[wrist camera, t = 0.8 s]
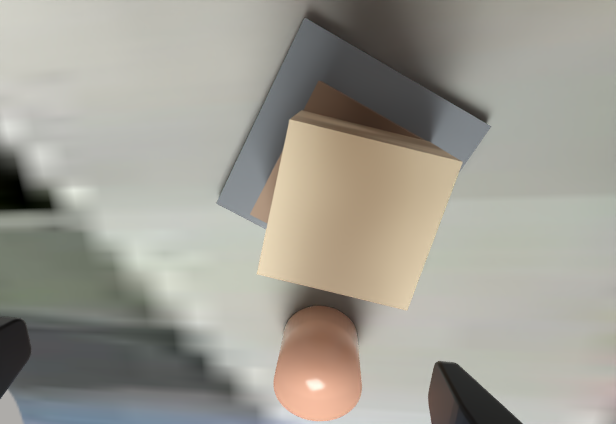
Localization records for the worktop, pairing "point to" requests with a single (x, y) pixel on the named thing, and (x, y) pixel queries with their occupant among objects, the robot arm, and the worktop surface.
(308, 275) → the top block
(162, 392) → the worktop surface
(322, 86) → the base block
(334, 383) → the peach rounded cylinder
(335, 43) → the slate coaster
